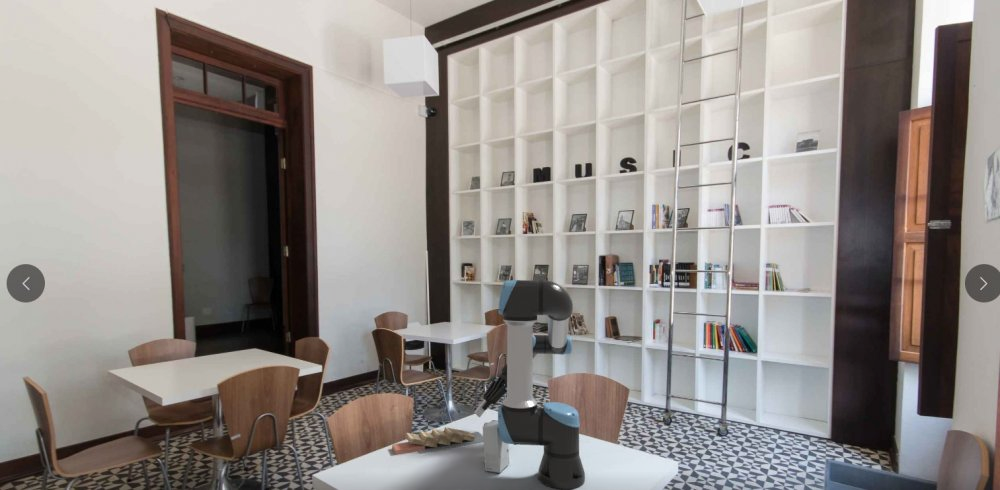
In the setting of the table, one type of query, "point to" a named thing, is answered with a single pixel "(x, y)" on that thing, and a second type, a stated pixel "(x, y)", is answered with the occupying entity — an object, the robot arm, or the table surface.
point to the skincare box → (494, 448)
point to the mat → (454, 444)
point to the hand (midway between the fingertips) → (476, 415)
